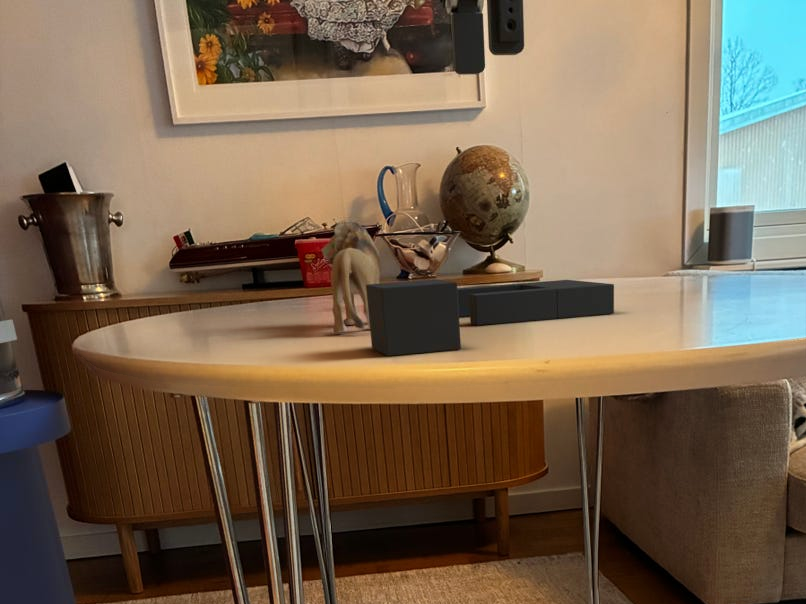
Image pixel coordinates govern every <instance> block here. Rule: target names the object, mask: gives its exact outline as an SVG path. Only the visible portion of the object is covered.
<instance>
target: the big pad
mask: <svg viewBox="0 0 806 604" xmlns="http://www.w3.org/2000/svg"><path fill="white" fill-rule="evenodd" d="M457 291H458V308H459V318H464V317H467V318H468V317H469V322H470V324H471V325H473V326H487V325H488V326H489V325H498V324H500V325H501V324H511V323H523V322H532V321H544V320H545V321H547V320H556V319H568V318H579V317H590V316H600V315H602V316H603V315H613V314H614V313H615V284H613V283H606V282H605V283H604V282H594V281H584V280H574V279H558V280H546V281H532V282H531V281H530V282H520V283H519V282H518V283H507V284H506V283H505V284H494V285H481V286H467V287H457Z"/></svg>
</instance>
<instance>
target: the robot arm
mask: <svg viewBox="0 0 806 604" xmlns="http://www.w3.org/2000/svg"><path fill="white" fill-rule="evenodd" d="M484 2H485V0H438V4H439V7H440V9H446V12H447V14H448V15H450V27H451V43H452V45H451V47H452V62H453V63H452V64H453V65H452V66H453V70H454V72H455V73H456V74H457V75H463V76H465V75H479V74H482V73H483V72H484V71H485V69H486V52H485V51H486V49H485V29H484V28H485V27H484V26H485V25H484V13H483V10H484V4H485V3H484ZM486 11H487V13H486V14H487V15H486V17H487V35H488V37H487V39H488V50H489V51H490V53H491V54H492V55H493V56H516V55H519V54H520V53H522V52H523V50H524V49H525V25H524V23H525V21H524V0H486ZM17 340H18V337H17V333H16V328H15V324H14V320H13V319H7V320H6V317H5V311H4V308H3V304H2V299H1V298H0V409H3V408H7V407H10V406H14V405H16V404H19V403H21V402H23V401H25V400H26V397H25V393H24V390H25V389H24V385H23V384H21V380H20V372H19V368H18V367H17V363H16V362H17V361H16V357H15V354H14V350H13V346H12V341H17Z"/></svg>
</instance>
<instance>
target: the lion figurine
mask: <svg viewBox="0 0 806 604" xmlns="http://www.w3.org/2000/svg"><path fill="white" fill-rule="evenodd" d="M333 230H334V231H333V232H334V235H332V236H331V237H330V240H329V242H328V243H326V244H325V245H324V246H323V247H322V248H321V249H320V252H321V253H322V256H323V258H324V259H325V260H327V261H328V264H329V265H328V266H329V267H330V268H331V276H330V284H331V295H332V310H331V311H332V315H333V319H334V326H333V333H334V334H339V333H343V332H347V326H355V328H356V329H357V328H358V329H364V328H365V323H364V322H363V320H362V319H361V318H360V316H358V312H357V309H356V305H355V295H357V296H359V297H360V298H361V301H362V303H363V315H364V317H365V319H366V322H367V326H368V328H369V329H370V321H369V311H368V300H367V290H366V285H368V284H381V283H380V278H381V271H382V261H381V258H380V256H381V255H380V251H379V250H378V248H377V247H376V245H375V242H374V240H373V239H372V237H371V235H370V234H369V233H368V231H367V229H366V228H364V227H363V225H361V224H359V223H358V222H356V221H352V220H349V219H348V220H341V221H339V222H337V223H336V225H335V226H334V229H333ZM342 303H344V308H345V318H344V316H343V314H344V313H343V305H342Z"/></svg>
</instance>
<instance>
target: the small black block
mask: <svg viewBox="0 0 806 604" xmlns="http://www.w3.org/2000/svg"><path fill="white" fill-rule="evenodd" d="M457 288H458V283H457V282H456V281H451V280H445V279H444V280H443V279H424V280H423V279H422V280H411V281H397V282H396V281H395V282H383V283H380V284H368V285H366V290H367V300H368V311H369V321H370V328H369V330H370V331H369V332H370V338H371V339H370V342H371V348H372V349H373V350H375V351H377V352H379V353H381V354H383V355H385V356H386V357H392V356H405V355H415V354H424V353H436V352H437V353H438V352H447V351H457V350H461V349H462V345H461V343H462V341H461V327H460V325H461V324H460V317H459V308H458V291H457Z"/></svg>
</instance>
